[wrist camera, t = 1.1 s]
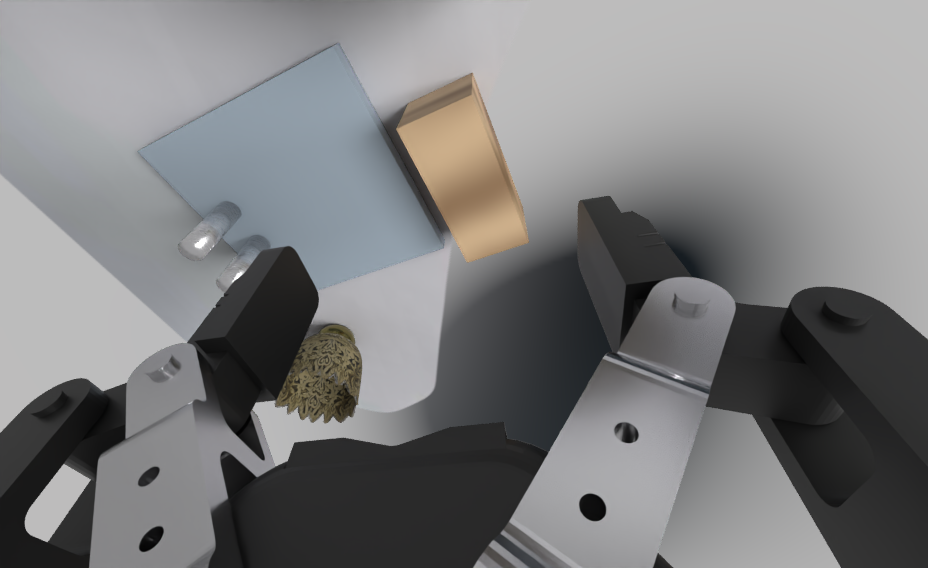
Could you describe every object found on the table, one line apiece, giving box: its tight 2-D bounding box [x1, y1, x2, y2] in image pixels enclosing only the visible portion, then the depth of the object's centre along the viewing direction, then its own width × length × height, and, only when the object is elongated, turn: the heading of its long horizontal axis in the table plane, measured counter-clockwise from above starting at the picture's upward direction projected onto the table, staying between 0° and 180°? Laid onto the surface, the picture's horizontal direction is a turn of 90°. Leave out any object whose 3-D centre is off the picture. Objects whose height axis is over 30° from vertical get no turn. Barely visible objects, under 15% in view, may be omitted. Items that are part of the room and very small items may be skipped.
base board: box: [138, 43, 445, 290], centre depth 29 cm, size 16×15×1 cm
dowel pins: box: [178, 201, 271, 292], centre depth 28 cm, size 2×5×5 cm, turn 23°
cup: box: [275, 325, 362, 423], centre depth 36 cm, size 8×7×8 cm
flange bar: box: [396, 73, 529, 262], centre depth 25 cm, size 10×4×5 cm, turn 23°
